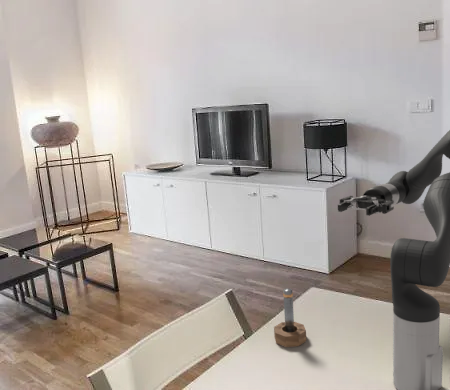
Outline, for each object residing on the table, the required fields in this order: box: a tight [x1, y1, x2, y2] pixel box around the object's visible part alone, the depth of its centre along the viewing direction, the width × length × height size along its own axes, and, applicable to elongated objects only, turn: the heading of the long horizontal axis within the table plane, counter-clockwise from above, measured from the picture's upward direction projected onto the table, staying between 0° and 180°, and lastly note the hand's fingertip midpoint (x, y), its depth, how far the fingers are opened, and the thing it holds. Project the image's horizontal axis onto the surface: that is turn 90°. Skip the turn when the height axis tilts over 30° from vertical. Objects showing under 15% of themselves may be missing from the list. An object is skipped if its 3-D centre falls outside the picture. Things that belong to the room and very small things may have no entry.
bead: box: [273, 321, 307, 348], centre depth 131 cm, size 8×8×3 cm
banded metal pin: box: [282, 287, 295, 333], centre depth 130 cm, size 3×3×14 cm
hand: (353, 210), depth 133 cm, fingers open, 8 cm apart
